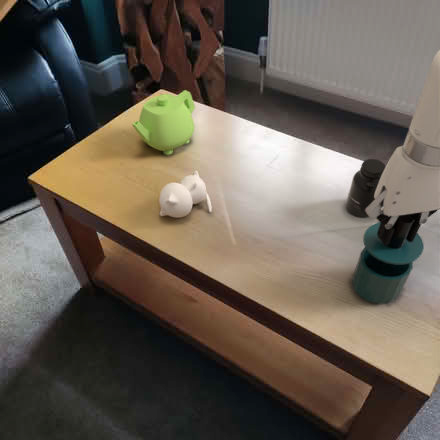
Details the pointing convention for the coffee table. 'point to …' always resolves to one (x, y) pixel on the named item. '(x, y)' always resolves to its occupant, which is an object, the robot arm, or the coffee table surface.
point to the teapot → (166, 121)
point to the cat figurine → (183, 196)
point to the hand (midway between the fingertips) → (395, 237)
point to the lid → (395, 242)
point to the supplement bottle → (364, 187)
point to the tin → (379, 278)
